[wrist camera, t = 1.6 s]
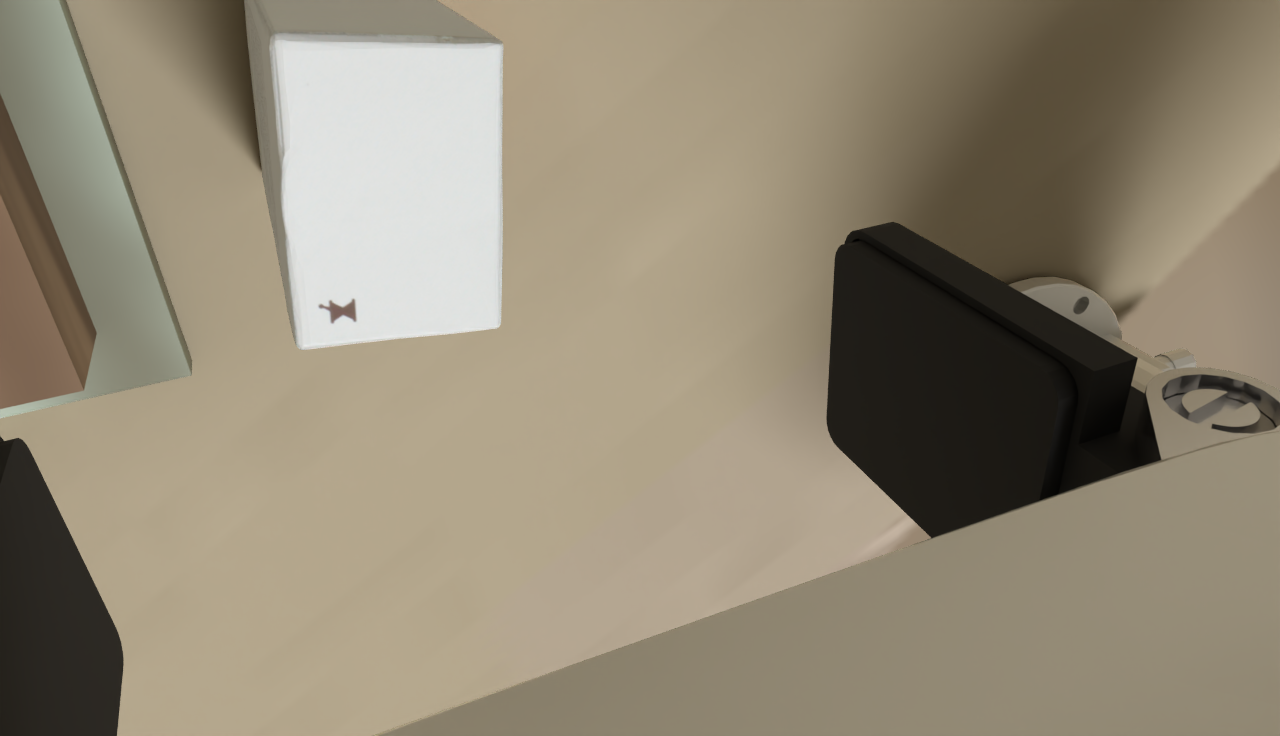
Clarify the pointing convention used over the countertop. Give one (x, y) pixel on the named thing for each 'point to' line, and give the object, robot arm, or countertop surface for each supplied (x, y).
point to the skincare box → (380, 166)
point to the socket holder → (70, 232)
